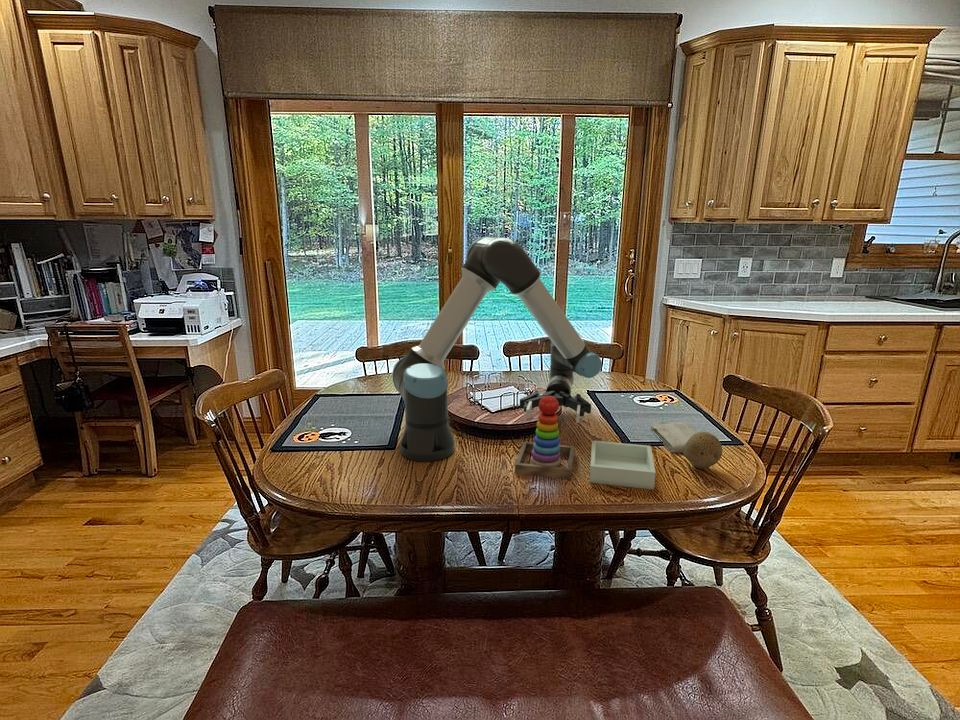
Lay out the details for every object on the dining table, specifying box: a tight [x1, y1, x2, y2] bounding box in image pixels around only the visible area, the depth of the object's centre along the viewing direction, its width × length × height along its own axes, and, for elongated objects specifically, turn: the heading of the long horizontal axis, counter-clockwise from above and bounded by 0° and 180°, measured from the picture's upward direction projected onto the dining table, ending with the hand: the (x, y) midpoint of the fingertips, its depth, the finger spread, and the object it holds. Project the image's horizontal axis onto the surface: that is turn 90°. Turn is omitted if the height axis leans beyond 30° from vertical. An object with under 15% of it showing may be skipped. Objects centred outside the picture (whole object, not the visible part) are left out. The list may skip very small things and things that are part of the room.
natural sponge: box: [683, 431, 723, 470], centre depth 130 cm, size 9×9×10 cm
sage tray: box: [589, 440, 656, 491], centre depth 129 cm, size 15×15×4 cm
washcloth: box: [650, 421, 698, 454], centre depth 149 cm, size 12×18×3 cm, turn 3°
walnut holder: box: [514, 441, 576, 480], centre depth 134 cm, size 14×14×2 cm
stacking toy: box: [530, 396, 562, 467], centre depth 132 cm, size 8×8×19 cm
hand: (552, 416), depth 139 cm, fingers open, 13 cm apart
